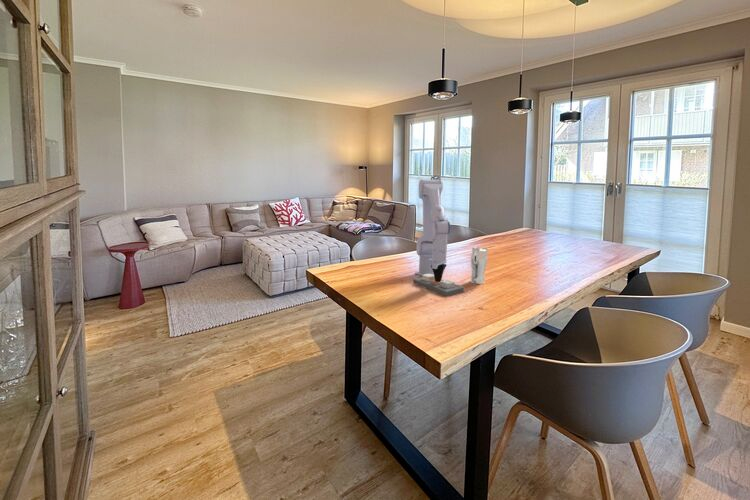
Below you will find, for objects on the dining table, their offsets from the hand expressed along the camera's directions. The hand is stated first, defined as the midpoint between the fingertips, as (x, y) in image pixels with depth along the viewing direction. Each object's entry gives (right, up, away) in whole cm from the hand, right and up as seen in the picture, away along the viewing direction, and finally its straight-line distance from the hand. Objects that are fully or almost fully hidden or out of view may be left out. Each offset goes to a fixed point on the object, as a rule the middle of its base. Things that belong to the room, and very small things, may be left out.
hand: (437, 281), depth 157 cm
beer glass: (+19, -1, +9) cm, 21 cm away
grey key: (+3, -2, -4) cm, 6 cm away
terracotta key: (0, -2, +1) cm, 2 cm away
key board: (0, -3, +1) cm, 3 cm away
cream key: (-3, 0, +5) cm, 6 cm away
